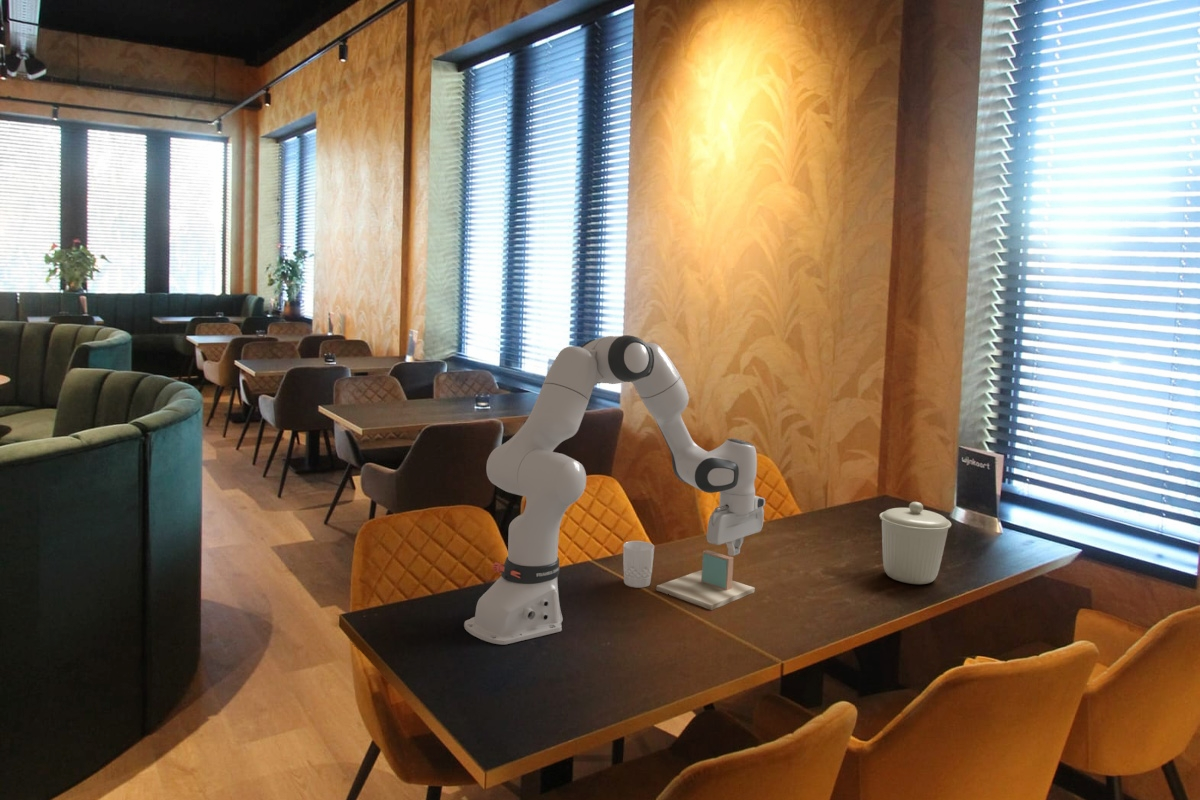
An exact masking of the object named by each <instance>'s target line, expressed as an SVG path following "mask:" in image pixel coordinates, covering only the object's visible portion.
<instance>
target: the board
mask: <svg viewBox="0 0 1200 800" xmlns="http://www.w3.org/2000/svg"><path fill="white" fill-rule="evenodd" d="M701 576H702V569H701V570H700V569H699V570H698V571H694V572H691V573H689V574H686V575H683V576H681V577H677V578H674V579H671V580H669V581H666V582H663V583H660V584H658V585H656V591H657V592H661V593H663V594H666V595H668V594H669V596H671V597H674V598H677V599H679V600H682V601H686V602H688V603H691V604H693V605H696V606H699V607H702V608H704V609H706V610H710V611H713V610H715V609H717V608H720V607H723V606H725V605H727V604H730V603H732V602H734V601H735V602H736V601H737V600H740V599H742V598H744V597H746V596H749V595H752V594H754V593H755V589H756V587H754V586H751V585H747V584H744V583H742V582H738V581H735V580H732V589H729V590H724V589H721V588H718V587H715V586H712V585H710V584H707V583H704V582H701Z"/></svg>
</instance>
